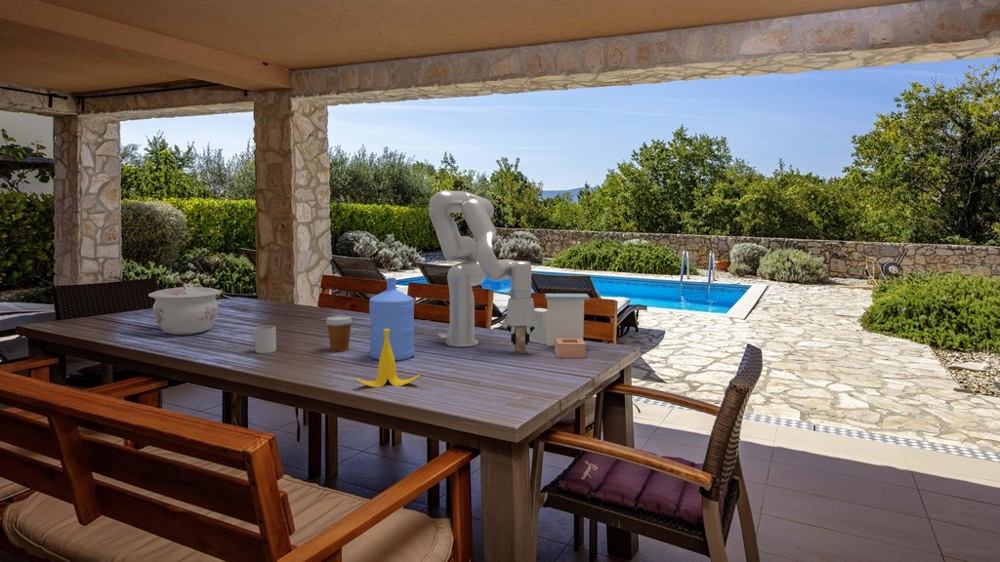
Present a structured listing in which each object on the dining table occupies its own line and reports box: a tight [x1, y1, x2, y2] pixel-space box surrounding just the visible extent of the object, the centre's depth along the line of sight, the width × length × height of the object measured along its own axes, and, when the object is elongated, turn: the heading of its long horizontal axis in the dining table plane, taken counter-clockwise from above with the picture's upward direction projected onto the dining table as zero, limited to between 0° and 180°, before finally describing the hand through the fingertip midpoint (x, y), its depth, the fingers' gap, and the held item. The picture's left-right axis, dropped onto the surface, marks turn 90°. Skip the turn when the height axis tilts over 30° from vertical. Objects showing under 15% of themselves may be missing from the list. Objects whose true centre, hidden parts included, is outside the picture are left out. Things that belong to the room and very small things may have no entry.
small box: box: [529, 307, 547, 345], centre depth 253 cm, size 8×6×13 cm
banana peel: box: [355, 329, 421, 388], centre depth 191 cm, size 17×19×17 cm
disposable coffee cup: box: [325, 315, 353, 352], centre depth 235 cm, size 10×10×12 cm
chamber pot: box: [148, 282, 222, 336], centre depth 266 cm, size 28×28×21 cm
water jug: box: [368, 277, 415, 362], centre depth 225 cm, size 16×16×28 cm
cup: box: [254, 325, 277, 355], centre depth 233 cm, size 7×10×9 cm
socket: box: [554, 338, 587, 359], centre depth 231 cm, size 10×10×5 cm
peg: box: [514, 326, 527, 355], centre depth 234 cm, size 4×4×12 cm
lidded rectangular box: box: [544, 293, 591, 347], centre depth 242 cm, size 16×8×20 cm, turn 91°
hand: (520, 343), depth 234 cm, fingers closed on peg, 4 cm apart
